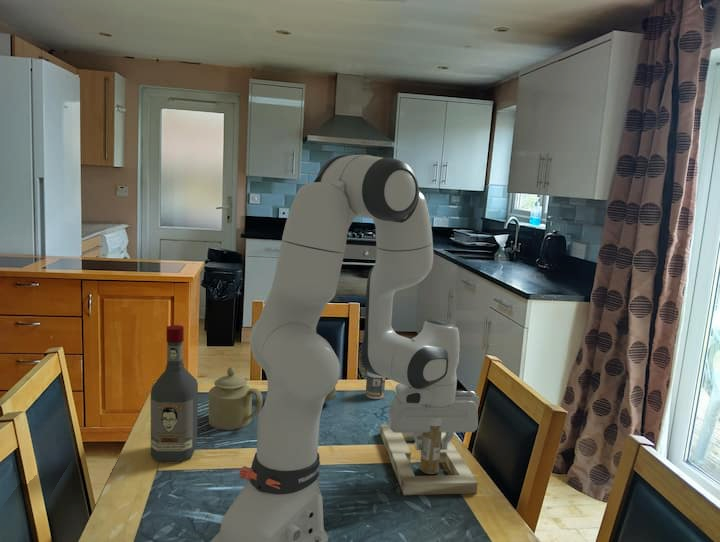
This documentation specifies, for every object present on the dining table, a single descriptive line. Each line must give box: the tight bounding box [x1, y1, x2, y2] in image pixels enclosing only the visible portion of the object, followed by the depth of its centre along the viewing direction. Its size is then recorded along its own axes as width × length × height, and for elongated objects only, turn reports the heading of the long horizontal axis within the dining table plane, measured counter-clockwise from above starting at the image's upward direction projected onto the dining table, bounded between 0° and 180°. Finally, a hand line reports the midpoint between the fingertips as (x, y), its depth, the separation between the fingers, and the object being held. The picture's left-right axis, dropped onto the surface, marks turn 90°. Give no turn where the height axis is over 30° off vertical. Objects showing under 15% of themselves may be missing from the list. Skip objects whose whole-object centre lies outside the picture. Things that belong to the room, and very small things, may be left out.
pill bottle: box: [365, 371, 386, 400], centre depth 165 cm, size 6×6×10 cm
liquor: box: [150, 324, 199, 464], centre depth 122 cm, size 9×9×30 cm
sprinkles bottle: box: [418, 418, 442, 475], centre depth 122 cm, size 5×5×13 cm
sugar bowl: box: [208, 366, 264, 431], centre depth 141 cm, size 15×11×15 cm
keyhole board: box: [379, 424, 478, 496], centre depth 128 cm, size 28×16×3 cm, turn 8°
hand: (430, 448), depth 123 cm, fingers closed on sprinkles bottle, 4 cm apart
